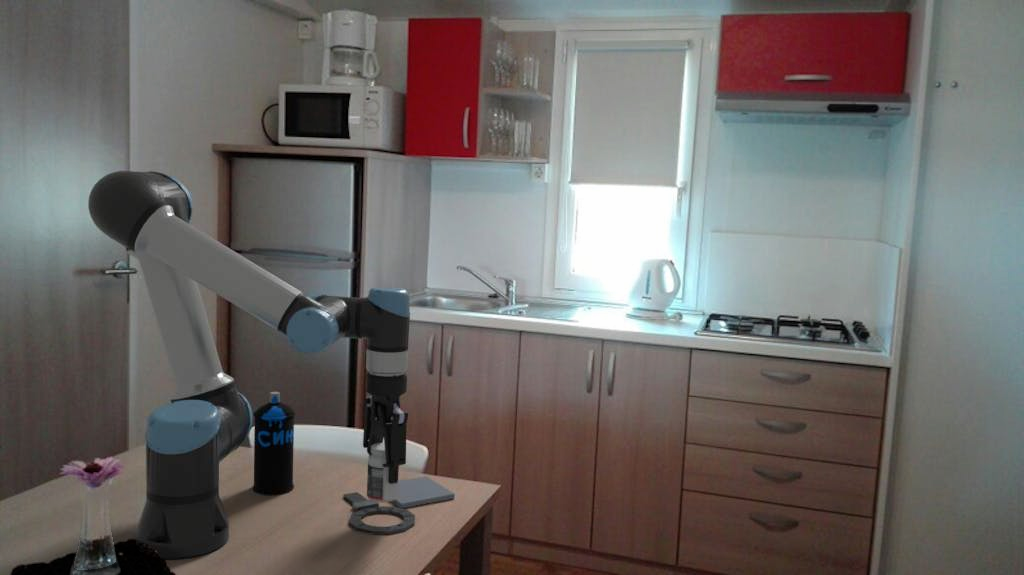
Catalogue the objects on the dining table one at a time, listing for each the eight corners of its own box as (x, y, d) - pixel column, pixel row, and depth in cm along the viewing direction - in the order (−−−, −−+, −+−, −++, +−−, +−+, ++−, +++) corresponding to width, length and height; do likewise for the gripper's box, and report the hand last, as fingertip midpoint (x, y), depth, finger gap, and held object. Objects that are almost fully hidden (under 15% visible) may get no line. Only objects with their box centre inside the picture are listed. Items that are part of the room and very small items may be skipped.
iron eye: (366, 538, 152) (366, 533, 151) (322, 501, 168) (322, 496, 168) (426, 526, 158) (426, 521, 158) (377, 491, 175) (377, 486, 175)
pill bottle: (371, 491, 162) (373, 440, 161) (400, 493, 162) (402, 442, 161) (363, 501, 157) (364, 449, 156) (393, 504, 156) (395, 451, 155)
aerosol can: (250, 483, 176) (251, 389, 174) (290, 479, 180) (292, 387, 177) (254, 497, 169) (256, 398, 167) (297, 493, 172) (298, 396, 170)
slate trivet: (401, 508, 166) (401, 503, 166) (375, 489, 176) (375, 484, 176) (454, 498, 173) (454, 493, 173) (426, 480, 183) (426, 476, 183)
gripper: (429, 380, 151) (423, 506, 154) (383, 360, 166) (378, 475, 169) (391, 384, 147) (386, 513, 149) (347, 363, 162) (343, 480, 165)
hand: (382, 493), depth 159 cm, fingers closed on pill bottle, 6 cm apart
